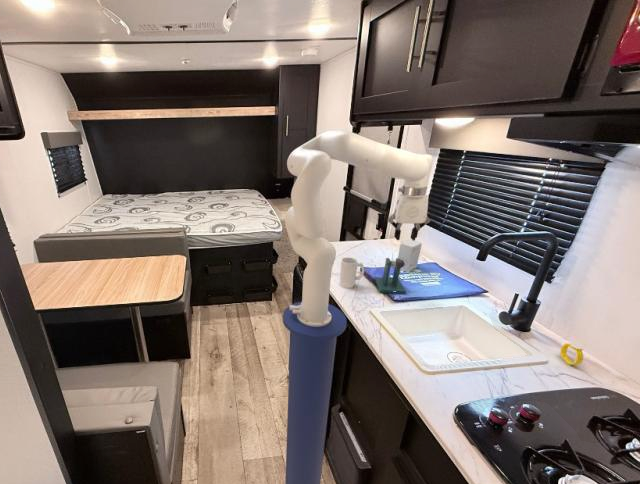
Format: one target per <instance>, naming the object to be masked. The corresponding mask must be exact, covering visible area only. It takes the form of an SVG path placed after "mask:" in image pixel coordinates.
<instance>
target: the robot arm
mask: <svg viewBox="0 0 640 484" xmlns="http://www.w3.org/2000/svg"><path fill="white" fill-rule="evenodd" d="M332 160H334V161H338V162H342V163H345V164H348V165H351V166H354V167H358V168H359V169H360V168H361V169H362V170H365V171H370V172H374V173H381V174H382V173H383V174H385V175H386V176H388V177H389V178H392V179H396V180H397V179H399V180H404V181H403V185H402V187H398V188H397V190H398V192H400V193H399V195H398V198H397V201H396V204H395V208H394V211H393V213H392V214H390V216H389V217H388V218H387V219H386V220H387V222H388V223H389V224H390V225H391V226H392V227H394V228H395V229H394V234H393V236H394V239H395V240H396V241H400V239H401V235H402V233H401V232H402V230H401V227H402V226H403V224H413V227H412V228H411V233H410V240H413V241H416V238H418V233H419V231H420V230H421V229H422V228H423V227H425V225H427V224H429V223H430V222H431V219H430V218H429V216H428V209H429V195H428V194H427V191H428V186H429V181H430V175H431V172H432V168H433V161H434V157H433V155H431V154H428V153H414V152H411V151H408V150H405V149H401V148H398V147H395V146H391V145H388V144H386V143H381V142H378V141H375V140H373V139H371V138H368V137H365V136H362V135H361V134H357V133H355V132H352V131H348V130H327V131H324V132H322V133H320V134H318V135H317V136H314V137H313V138H311V139H310V140H308V141H307V142H305V143H303V144H301V145H299V146H298V147H296V148H295V149H294V150H292V152H290V153H289V156H288V157H287V160H286V166H287V170H288V172H289V173H290V174H291V175H293V176H294V177H296V179H295V181H294V184H293V186H292V188H291V192H290V199H291V204H292V205H291V206H290V207H289V208H288V210H287V211H286V213H285V216H284V224H285V229H286V232H287V236H288V239H289V242H290V245H291V247H292V249H293V251H294V253H295V254H297V255H298V256H299V257H301V259H304V260H305V261H306V263H307V264H306V267H305V269H304V271H303V274H302V294H301V295H302V296H301V299H302V300H301V302H302V303H301V305H298V306H294V305H292V304H290V305H289V306H290V310H293V313H295V314H296V313H297V317H298V320H299V321H300V322H302V323H303V324H305V325H308V326H312V327H321V326H325V325H327V324H329V323H330V322H331V317H332V316H331V314H330V312H329V311H328V304H329V300H330V291H331V290H330V289H331V279H332V271H333V267H334V264H335V261H336V257H337V251H336V248H335V246H334V244H333V243H332V242H330V241H329V240H327V239H326V238H324V237H323V235H325V231H326V220H325V216H324V212H323V208H322V203H321V199H320V191H321V188H322V186H323V184H324V182H325V181H326V179H327V177H328V176H329V174H330V173H331V169H332V164H333V163H332ZM394 220H395V221H394Z"/></svg>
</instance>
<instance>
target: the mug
mask: <svg viewBox="0 0 640 484" xmlns="http://www.w3.org/2000/svg"><path fill="white" fill-rule="evenodd" d="M358 262H359V260H358V259H357V258H355V257H349V256H348V257H342V258H341V263H340V273H339V274H340V275H339V286H341V287H342V288H345V289H352V288H354V287H355V282H356V281H358V280H359V281H360V280H361V279H362V278H363V275H364V274H365V266H364V262H359V263H358ZM358 268H361V272H360V274H359V275H357V270H358Z"/></svg>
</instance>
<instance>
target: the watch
mask: <svg viewBox="0 0 640 484" xmlns="http://www.w3.org/2000/svg"><path fill="white" fill-rule="evenodd" d="M568 348H570V349H572V350H574V351H575V353H576V359H575V361H574V362H573V361H572V360H571V359H570V358H569V357H568V354H567V353H568ZM583 350H584V347H583V346H582V345H581V344H579V343H576V342H570V343H564V344H563V345H562V346H561V348H560V356H561V358H562V359H563V360H564V361H565V362H566V363H567V365H570V366H578V365H580V364H582V362H583V361H584V353H583Z"/></svg>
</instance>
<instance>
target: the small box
mask: <svg viewBox="0 0 640 484" xmlns="http://www.w3.org/2000/svg"><path fill="white" fill-rule="evenodd" d="M422 244H423V242H420V241H416V240H415V241H413V240H412V239H408V240H405V241H403V242H400V244H399V249H398V255H397V258H399V259H400V260H403V261H404V263H405V265H404V266H403V267H402V268H400V271H403V272H406V273H409V272H411V271H413V270H414V269H416V268H417V267H418V263H419V259H420V255H421V254H420V253H421V249H422V246H423V245H422Z"/></svg>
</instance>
